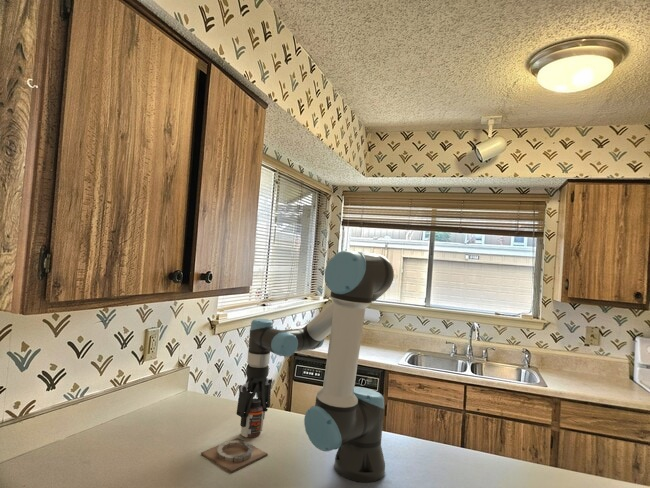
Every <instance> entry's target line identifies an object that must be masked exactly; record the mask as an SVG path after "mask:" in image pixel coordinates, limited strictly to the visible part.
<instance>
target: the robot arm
mask: <svg viewBox="0 0 650 488" xmlns="http://www.w3.org/2000/svg"><path fill="white" fill-rule="evenodd" d="M394 276H395V273H394V267H393V264H392V263H391V261H390V260H389V259H388V258H387V257H385V256H384V255H382V254H379V253H371V252H365V251H357V250H342V251H338V252H336V253H335V254H334V255H333V256H331V258H330V259H329V261H327V264H326V266H325V271H324V282H325V283H326V287H327V288H328V289H329V291H330V296H329V298H330V299H331V302H330V303H329V304H328V305H326V307H325V308H324V309H322V311H321V312H319V313H318V314H317V315H316V316H314V317H313V318H312V319H311V321H309V322H308V323H307V324H305V326H304V327H302V328H294V329H293V328H292V329H277V328H274V325H273V321H272V320H270V319H268V318H255V319H253V320H251V322H250V328H249V338H248V339H249V340H248V351H247V363H246V364H247V365H246V368H245V369H246V373H245V376H246V381H245V383H244V384H243V385H241V384H240V385H239V386H238V392H239V393H238V400H237V406H236V407H237V408H236V412H235V413H236V415H237V416H238V417H240V435H241V436H243V437H244V438H248V429H249V419H250V417H249V416H248V414H249V410H250V407H251V404H252V400H253V398H255V397H257V398H256V399H260V400H261V403H260V406H261V407H262V409H263V410H262V420H261V431H260V432H262V431H263V429H264V427H263V426H264V420H265V416H266V415H265V414H266V412H267V413H268V410H269V409H270V407H271V392H272V390H271V389H272V383H273V379H271V378H268V376H269V370H270V369H269V364H270V358H271V356H270V355H271V353H273V354H275V355H277V356H279V357H285V358H290V357H291V356H293V355H294V354H295V353H297V352H302V351H309V350H310V351H313V350H316V349H319V348H321V347H323V344H324V342H325V338H326V337H328V336H329V342H328V348H327V349H328V350H327V355H326V356H327V357H326V363H325V364H326V365H325V370H324V371H325V372H324V378H323V384H322V385H323V386H322V388H320V389H319V390H318V391H317V392H316V394H315V402H314V403H315V404H314V405H311V407H310V408H309V409H307V410H306V412H305V414H304V418H303V420H304V429H305V433H306V435H307V436H308V439H309V441H310V443H311V444H312V445H313V446H314V447H315V448H316V449H318V450H319V451H322V452H330V451H333V450H334V451H335V450H337V451H336V454H335V455H334V468H335V470H336V472H337V473H339V474H338V475H340V476H343V477H344V478H345V479H349V480H350V481H354V482H359V483H371V482H376V481H380V480H381V479H382V478H384V476H385V474H386V461H385V457H384V453H383V448H382V447H383V446H382V436H383V426H384V425H383V424H384V423H383V422H384V413H385V409H386V408H385V398H384V395H383V394H382V393H380V392H378V391H376V390H374V389H370V388H367V387H362V386H355V385H356V378H357V371H358V364H359V356H360V350H361V349H360V348H361V342H362V334H363V328H364V322H365V314H366V309H367V308H368V307H369V306H370V305H372V303H374V302H375V301H377V300H378V299H379V298H380V297H382V295H384V294H385V293H386V292H387V291H388V290H389V289H390V287H391V286H392V284H393V282H394V279H395V278H394Z"/></svg>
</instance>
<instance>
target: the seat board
mask: <svg viewBox="0 0 650 488" xmlns="http://www.w3.org/2000/svg"><path fill="white" fill-rule="evenodd" d="M235 440H238V441H244V440H243V439H241V438H239V437H236V438H234V439H231V440H230V441H235ZM219 445H220V444H218V445H216V446H214V447H211V448H209V449H207V450H204V451H201V452H200V454H201V456H203V457H204V458H206V459H208V460H210V461H211V462H212V463H214V464H216V465H218V466H219V467H220V468H223V469H224V470H225V471H227V472H229V473H230V474H233V473H235V472H238V471H239V470H241V469H243V468H245V467H247V466H249V465H251V464H253V463H255V462H257V461H260V460H261V459H263V458H265V457H268V452H266V451H263V450H262V449H261V448H258V447H257V446H254V445H253V444H251V445H252V447H253V454H252V456H251V458H249V459H247V460H245V461H242V462H226V461H223V460H221V459H220V458H218V456H217V448H218V447H219ZM223 452H224V453H225V454H227V455H232V456H237V455H242V454H244V453H247V449H245V448H243V447H237V446H235V447H229V448H226V449H224V450H223Z"/></svg>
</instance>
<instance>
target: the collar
mask: <svg viewBox="0 0 650 488" xmlns="http://www.w3.org/2000/svg"><path fill="white" fill-rule="evenodd" d="M218 445H219V447H218V448H217V456H218V458H220V459H221V460H223V461H226V462H242V461H245V460H247V459H249V458H251V456H252V454H253V447H252V445H253V444H251V443H249V442H247V441H245V440H243V441H238V440H235V441H231V440H229V441H225V442H223V443H221V444H218ZM235 446H237V447H243V448H245V449H247V453H244V454H242V455H237V456H232V455H227V454H225V453H224V452H223V450H224V449H226V448H229V447H235Z"/></svg>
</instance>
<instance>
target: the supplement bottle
mask: <svg viewBox="0 0 650 488" xmlns="http://www.w3.org/2000/svg"><path fill="white" fill-rule="evenodd" d="M260 403H261V400H260V399H258V398H255V397H253V400H252V404H251V407H250V410H249V414H248V416H249V417H250V419H249V429H248V437H249V438H254V437H255V438H256V437H257V436H260V435H261V432H262V431H261V420H262V410H263V409H262V407H261V406H260ZM248 437H247V438H248Z"/></svg>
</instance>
